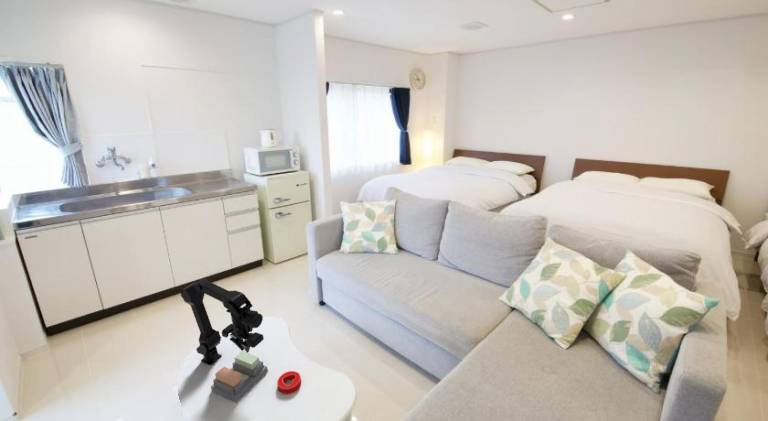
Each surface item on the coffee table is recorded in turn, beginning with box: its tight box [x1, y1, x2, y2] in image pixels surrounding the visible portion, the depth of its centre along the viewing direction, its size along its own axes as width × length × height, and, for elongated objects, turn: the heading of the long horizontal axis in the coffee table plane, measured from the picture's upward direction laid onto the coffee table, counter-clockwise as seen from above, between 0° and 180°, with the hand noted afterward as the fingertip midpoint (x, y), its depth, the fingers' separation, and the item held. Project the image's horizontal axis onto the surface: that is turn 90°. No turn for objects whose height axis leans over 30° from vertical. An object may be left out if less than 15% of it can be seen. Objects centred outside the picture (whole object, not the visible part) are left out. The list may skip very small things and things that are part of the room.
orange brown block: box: [214, 366, 242, 388], centre depth 139 cm, size 10×4×4 cm, turn 65°
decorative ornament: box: [276, 370, 302, 395], centre depth 143 cm, size 10×10×3 cm
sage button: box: [234, 350, 261, 371], centre depth 148 cm, size 10×4×4 cm, turn 65°
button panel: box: [210, 360, 269, 404], centre depth 145 cm, size 14×18×6 cm
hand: (245, 351), depth 146 cm, fingers open, 3 cm apart
